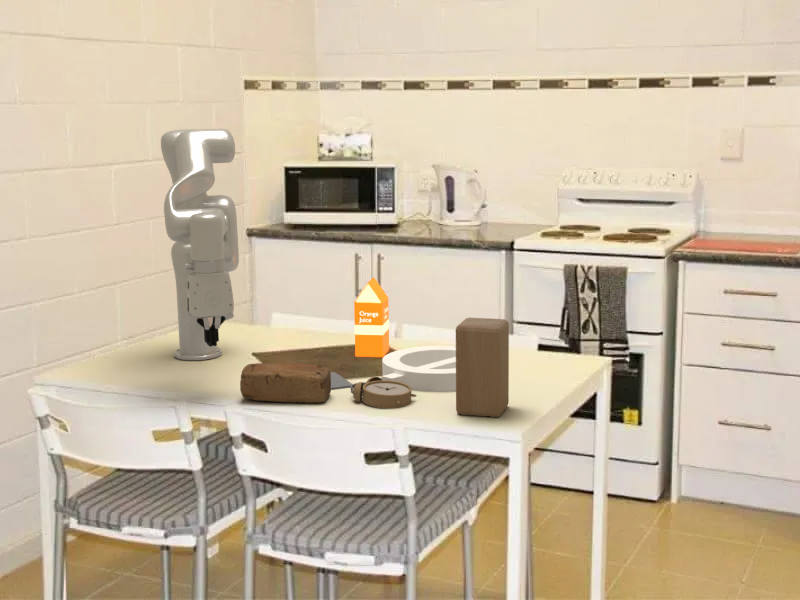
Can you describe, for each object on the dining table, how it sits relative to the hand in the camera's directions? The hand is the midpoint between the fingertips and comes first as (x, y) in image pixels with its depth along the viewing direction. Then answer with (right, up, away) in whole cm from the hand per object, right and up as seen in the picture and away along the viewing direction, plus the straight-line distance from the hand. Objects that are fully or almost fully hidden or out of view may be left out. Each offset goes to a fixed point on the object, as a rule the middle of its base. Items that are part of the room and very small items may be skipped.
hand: (211, 345), depth 268 cm
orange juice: (+36, -4, +42) cm, 55 cm away
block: (+7, -8, 0) cm, 11 cm away
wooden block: (+62, -14, -13) cm, 65 cm away
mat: (+20, -10, +10) cm, 25 cm away
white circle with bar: (+53, -9, +17) cm, 57 cm away
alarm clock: (+39, -13, -3) cm, 41 cm away
